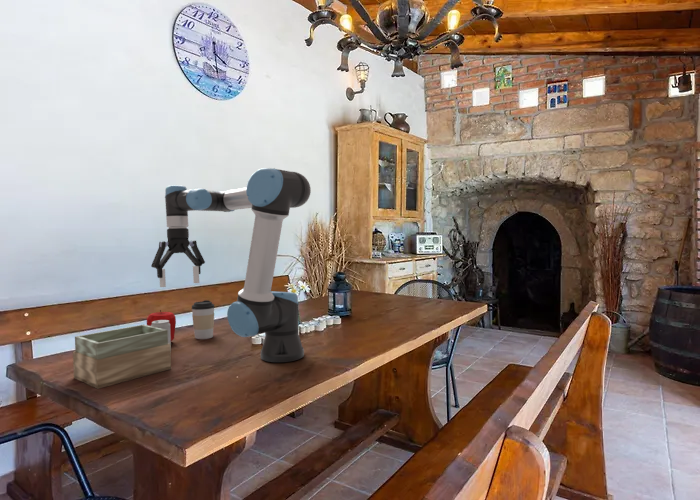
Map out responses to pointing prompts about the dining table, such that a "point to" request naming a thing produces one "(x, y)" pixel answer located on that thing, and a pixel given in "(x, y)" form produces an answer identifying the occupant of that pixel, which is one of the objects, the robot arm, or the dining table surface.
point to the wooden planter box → (120, 355)
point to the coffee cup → (203, 319)
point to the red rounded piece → (163, 316)
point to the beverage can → (163, 325)
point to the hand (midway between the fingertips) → (180, 285)
